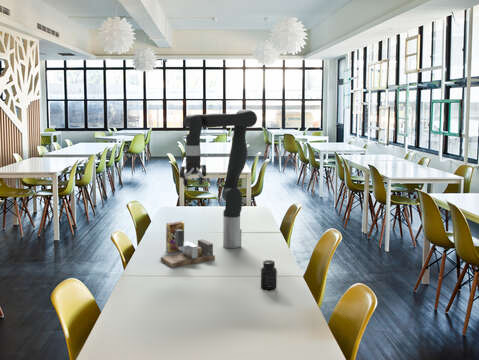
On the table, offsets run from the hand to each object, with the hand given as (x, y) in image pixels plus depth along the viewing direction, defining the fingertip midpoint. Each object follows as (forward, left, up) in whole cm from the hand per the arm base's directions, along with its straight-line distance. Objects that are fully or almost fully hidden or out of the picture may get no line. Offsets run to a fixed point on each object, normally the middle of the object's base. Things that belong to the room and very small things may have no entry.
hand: (193, 185), depth 265 cm
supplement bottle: (-3, +61, -36) cm, 71 cm away
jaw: (+10, +9, -34) cm, 36 cm away
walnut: (+3, +9, -34) cm, 35 cm away
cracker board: (+8, +9, -36) cm, 38 cm away
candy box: (+6, -9, -36) cm, 38 cm away
